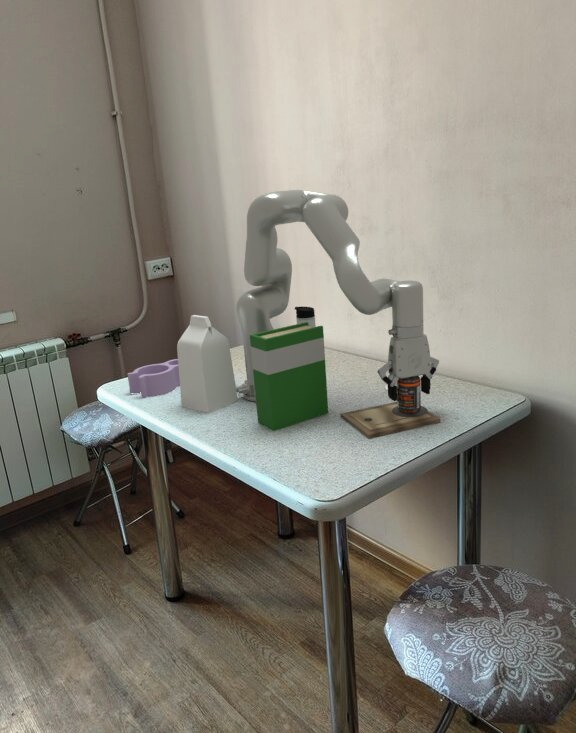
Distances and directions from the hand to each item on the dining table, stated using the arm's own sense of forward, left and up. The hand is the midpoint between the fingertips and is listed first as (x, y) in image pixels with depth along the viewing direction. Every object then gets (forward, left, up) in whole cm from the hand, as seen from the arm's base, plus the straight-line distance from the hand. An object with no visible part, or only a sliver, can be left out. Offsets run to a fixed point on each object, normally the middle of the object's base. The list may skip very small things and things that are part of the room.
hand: (409, 396), depth 158 cm
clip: (-54, +61, -6) cm, 82 cm away
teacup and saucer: (+9, +17, -6) cm, 21 cm away
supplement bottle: (0, 0, -4) cm, 4 cm away
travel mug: (-5, +58, -5) cm, 58 cm away
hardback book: (-27, +14, -5) cm, 31 cm away
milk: (-44, +38, -5) cm, 59 cm away
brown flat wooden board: (-6, 0, -5) cm, 8 cm away
